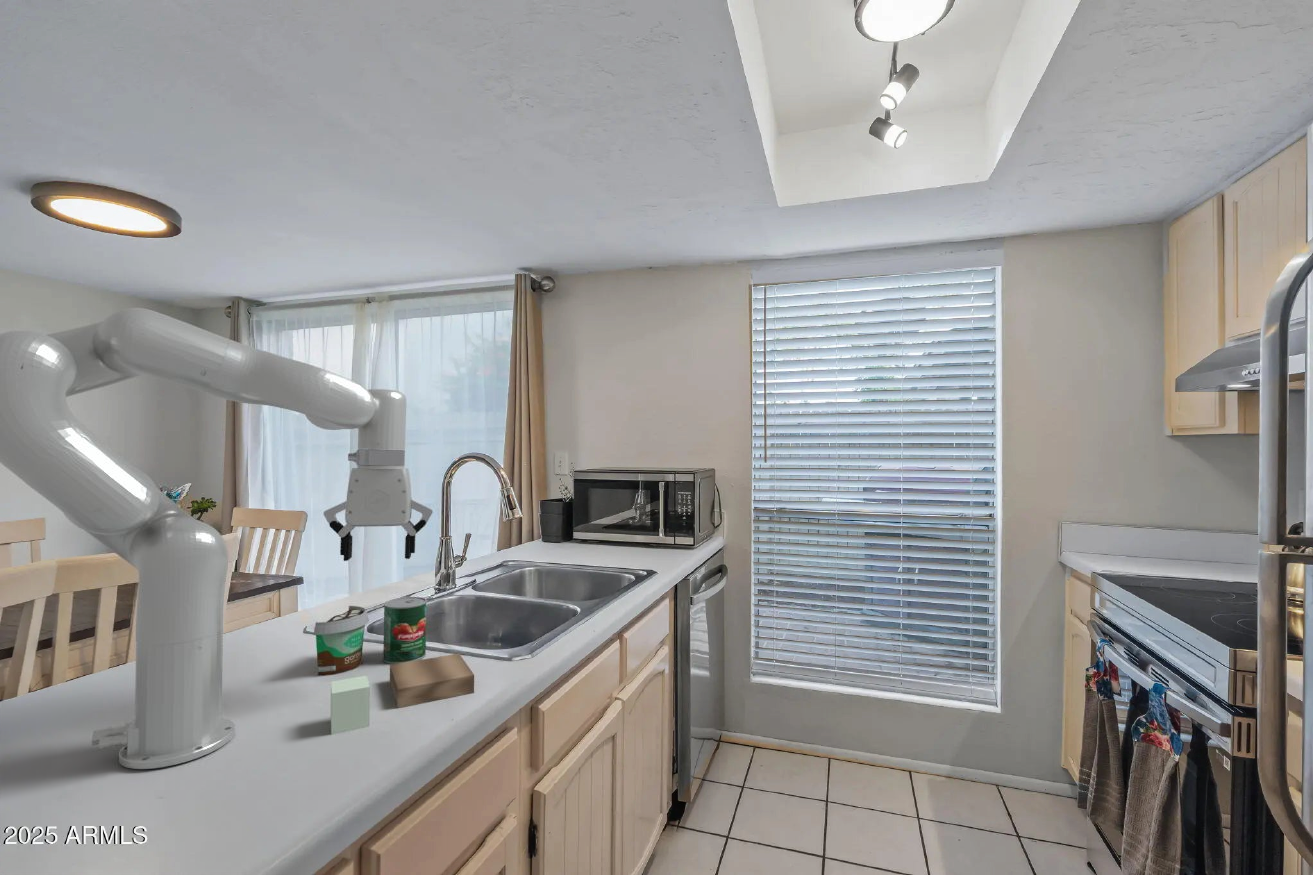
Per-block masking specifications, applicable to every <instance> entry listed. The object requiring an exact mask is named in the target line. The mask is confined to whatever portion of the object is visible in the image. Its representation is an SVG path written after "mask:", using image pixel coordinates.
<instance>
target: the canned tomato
mask: <svg viewBox="0 0 1313 875" xmlns="http://www.w3.org/2000/svg"><path fill="white" fill-rule="evenodd" d="M427 600H428V599H426V598H425V597H423V596H421V597H419V596H404V597H397V598H393V599H390V600H386V601H385V602H384V603H383V608H384V611H383V650H382V651H383V652H382V653H383V657H382V660H383V662H384V663H386V664H389V665H393V664H399V663H405V662H411V661H417V660H423V658H425V657H426V656H427V652H426V651H427V602H428V601H427Z"/></svg>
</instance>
